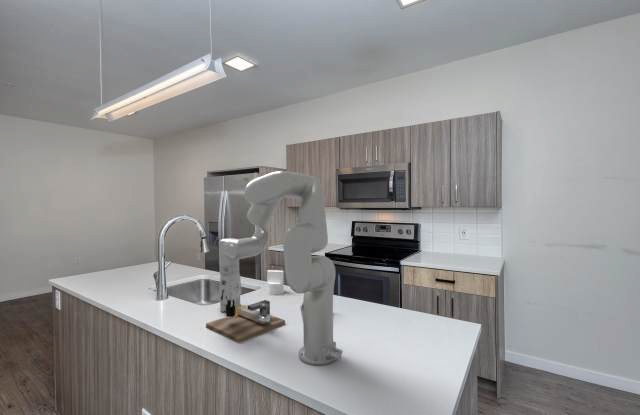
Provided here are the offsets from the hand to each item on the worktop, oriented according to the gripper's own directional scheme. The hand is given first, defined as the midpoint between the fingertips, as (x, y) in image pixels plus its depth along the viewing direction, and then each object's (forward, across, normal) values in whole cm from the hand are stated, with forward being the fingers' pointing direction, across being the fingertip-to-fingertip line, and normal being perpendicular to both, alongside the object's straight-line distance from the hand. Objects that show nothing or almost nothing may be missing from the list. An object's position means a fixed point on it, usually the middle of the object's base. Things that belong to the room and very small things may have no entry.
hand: (230, 315), depth 120 cm
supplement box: (+4, +21, +11) cm, 24 cm away
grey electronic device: (+5, +16, -31) cm, 35 cm away
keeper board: (+4, +2, -5) cm, 7 cm away
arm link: (+3, +5, -7) cm, 9 cm away
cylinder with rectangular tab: (+4, +48, -3) cm, 48 cm away
